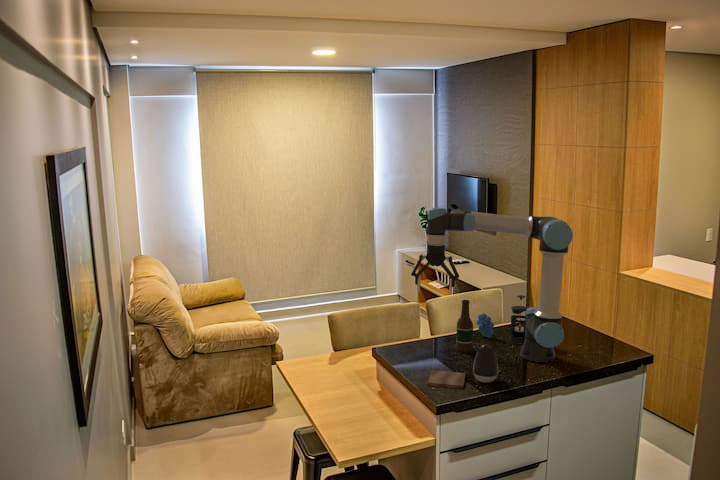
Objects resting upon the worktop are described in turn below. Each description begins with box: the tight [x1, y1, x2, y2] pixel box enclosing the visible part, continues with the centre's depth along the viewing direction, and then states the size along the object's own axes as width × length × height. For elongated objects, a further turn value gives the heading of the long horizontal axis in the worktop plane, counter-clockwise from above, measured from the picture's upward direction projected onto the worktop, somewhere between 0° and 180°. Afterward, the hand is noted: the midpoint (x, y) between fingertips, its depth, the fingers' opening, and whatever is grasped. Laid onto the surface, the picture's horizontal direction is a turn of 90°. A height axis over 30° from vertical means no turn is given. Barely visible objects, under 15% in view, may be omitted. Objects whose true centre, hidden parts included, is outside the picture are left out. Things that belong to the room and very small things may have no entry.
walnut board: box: [427, 369, 467, 390], centre depth 247 cm, size 14×14×1 cm
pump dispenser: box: [472, 343, 499, 384], centre depth 246 cm, size 10×10×15 cm
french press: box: [509, 294, 530, 343], centre depth 296 cm, size 12×9×23 cm
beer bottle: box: [455, 299, 474, 353], centre depth 283 cm, size 8×8×24 cm
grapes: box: [476, 312, 495, 339], centre depth 303 cm, size 12×7×12 cm, turn 32°
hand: (434, 293), depth 259 cm, fingers open, 13 cm apart
